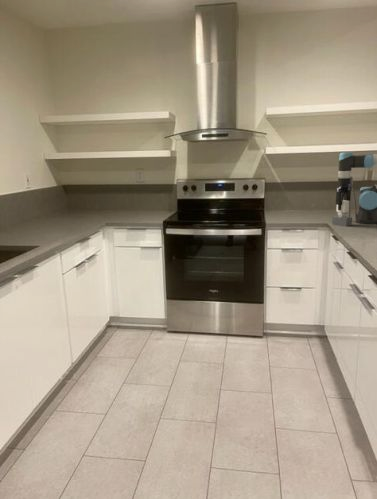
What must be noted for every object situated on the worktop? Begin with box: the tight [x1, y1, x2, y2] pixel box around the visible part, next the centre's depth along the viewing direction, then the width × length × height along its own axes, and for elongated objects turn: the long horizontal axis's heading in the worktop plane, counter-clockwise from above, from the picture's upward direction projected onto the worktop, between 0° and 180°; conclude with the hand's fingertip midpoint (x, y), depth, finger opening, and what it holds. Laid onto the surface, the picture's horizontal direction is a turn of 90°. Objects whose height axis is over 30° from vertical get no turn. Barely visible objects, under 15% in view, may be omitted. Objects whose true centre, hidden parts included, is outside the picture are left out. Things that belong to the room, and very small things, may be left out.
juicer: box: [348, 175, 358, 218], centre depth 257 cm, size 10×11×30 cm
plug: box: [335, 199, 349, 218], centre depth 244 cm, size 4×6×12 cm
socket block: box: [331, 215, 353, 227], centre depth 245 cm, size 6×10×5 cm, turn 35°
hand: (342, 214), depth 244 cm, fingers closed on plug, 4 cm apart
